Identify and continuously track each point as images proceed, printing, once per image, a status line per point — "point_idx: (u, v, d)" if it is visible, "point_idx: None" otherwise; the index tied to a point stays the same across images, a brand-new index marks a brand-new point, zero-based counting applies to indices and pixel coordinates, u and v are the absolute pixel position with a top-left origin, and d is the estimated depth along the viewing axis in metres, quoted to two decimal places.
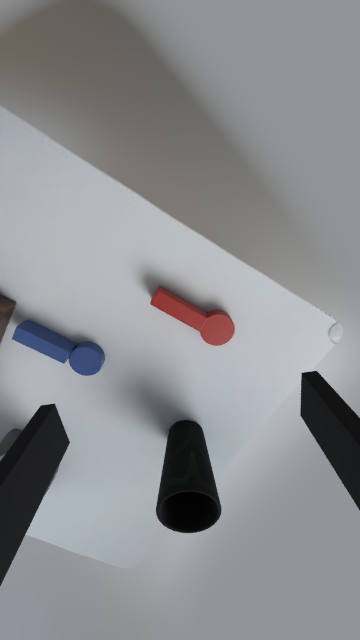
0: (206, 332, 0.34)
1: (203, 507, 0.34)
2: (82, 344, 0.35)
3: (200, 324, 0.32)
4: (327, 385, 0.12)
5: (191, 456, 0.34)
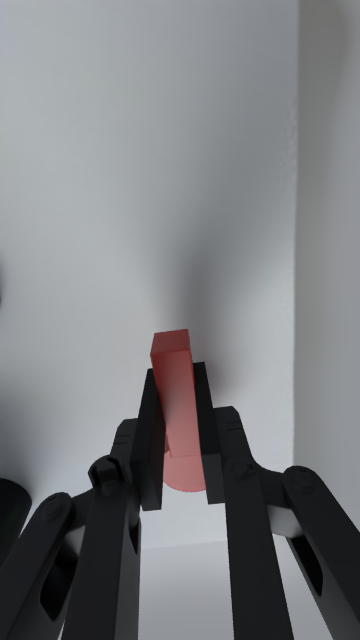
0: (175, 458, 0.17)
1: None
2: None
3: (184, 452, 0.15)
4: (204, 372, 0.14)
5: None
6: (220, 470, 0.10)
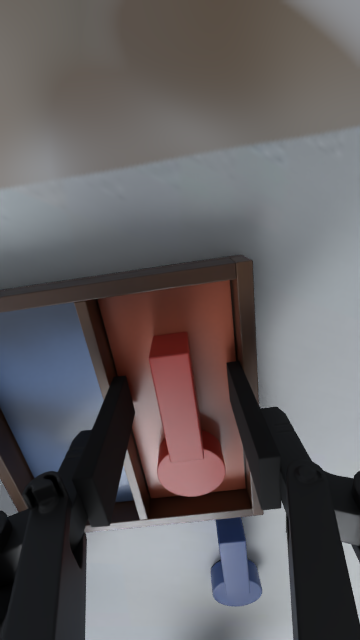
0: (174, 462, 0.16)
1: None
2: (252, 570, 0.23)
3: (184, 456, 0.15)
4: (242, 372, 0.14)
5: None
6: (278, 474, 0.09)
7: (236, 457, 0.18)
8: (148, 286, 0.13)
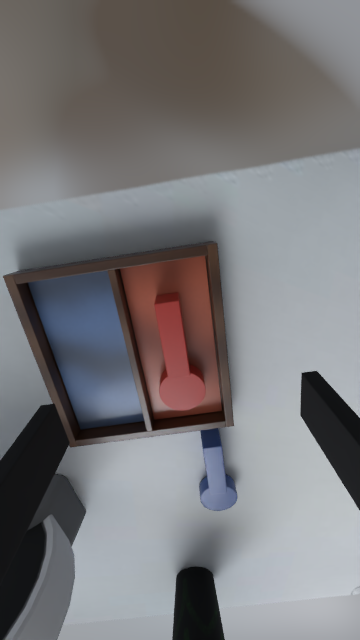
0: (171, 383, 0.24)
1: None
2: (230, 481, 0.31)
3: (177, 374, 0.23)
4: (327, 385, 0.12)
5: None
6: None
7: (214, 385, 0.26)
8: (153, 259, 0.20)
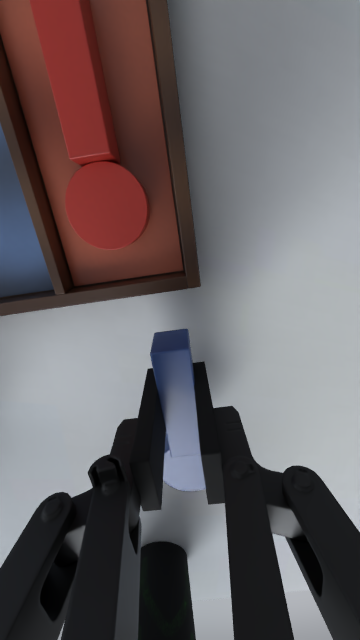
0: (84, 188, 0.14)
1: None
2: None
3: (84, 147, 0.12)
4: (204, 372, 0.14)
5: None
6: (220, 470, 0.10)
7: (168, 217, 0.16)
8: None
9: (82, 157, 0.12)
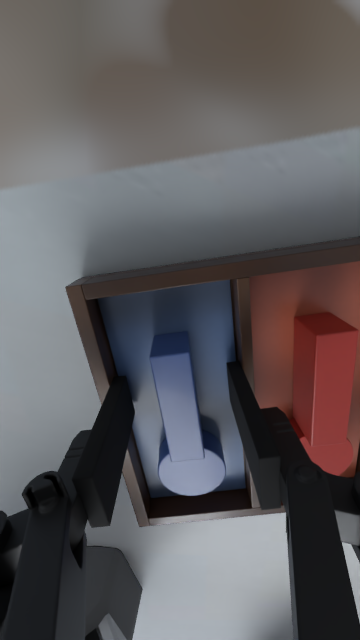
0: None
1: None
2: (213, 442, 0.17)
3: (327, 440, 0.15)
4: (242, 372, 0.14)
5: None
6: (278, 474, 0.09)
7: (352, 444, 0.18)
8: (317, 261, 0.12)
9: (321, 445, 0.15)
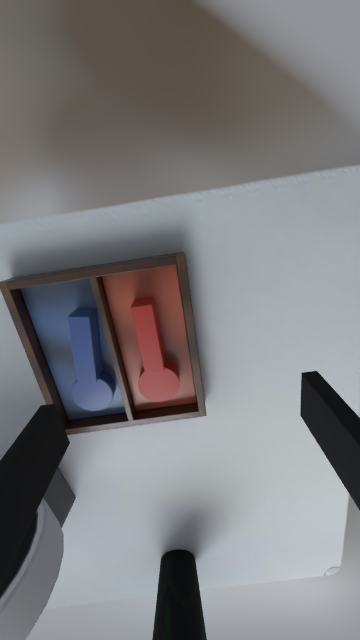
0: (148, 377, 0.27)
1: None
2: (108, 378, 0.28)
3: (152, 369, 0.26)
4: (327, 385, 0.12)
5: (200, 616, 0.35)
6: None
7: (188, 379, 0.29)
8: (130, 268, 0.23)
9: (151, 372, 0.26)
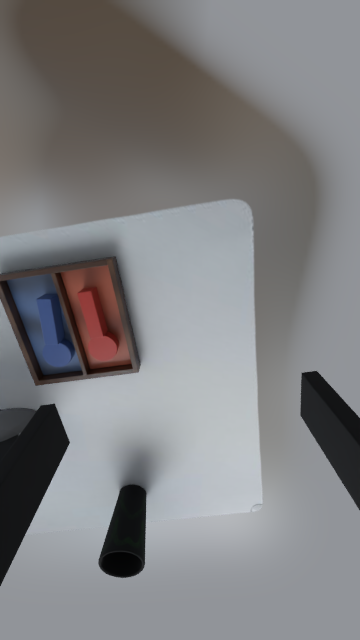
0: (94, 342, 0.39)
1: (121, 560, 0.47)
2: (68, 343, 0.40)
3: (95, 335, 0.38)
4: (327, 385, 0.12)
5: (142, 526, 0.47)
6: None
7: (126, 346, 0.41)
8: (76, 267, 0.36)
9: (94, 338, 0.38)
